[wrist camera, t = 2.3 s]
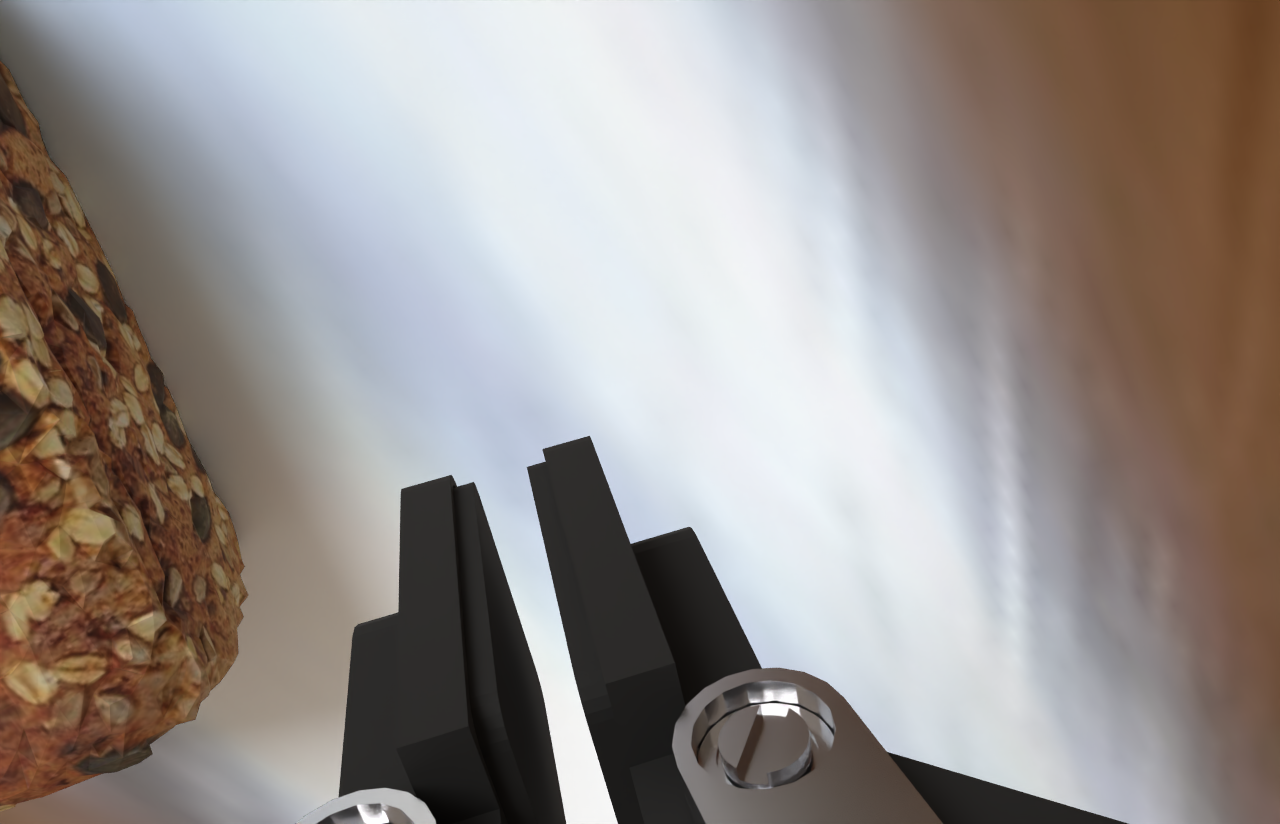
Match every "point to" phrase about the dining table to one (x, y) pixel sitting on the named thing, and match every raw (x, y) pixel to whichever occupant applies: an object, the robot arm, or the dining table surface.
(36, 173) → the bread
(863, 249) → the dining table surface
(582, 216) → the dining table surface
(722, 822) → the robot arm
